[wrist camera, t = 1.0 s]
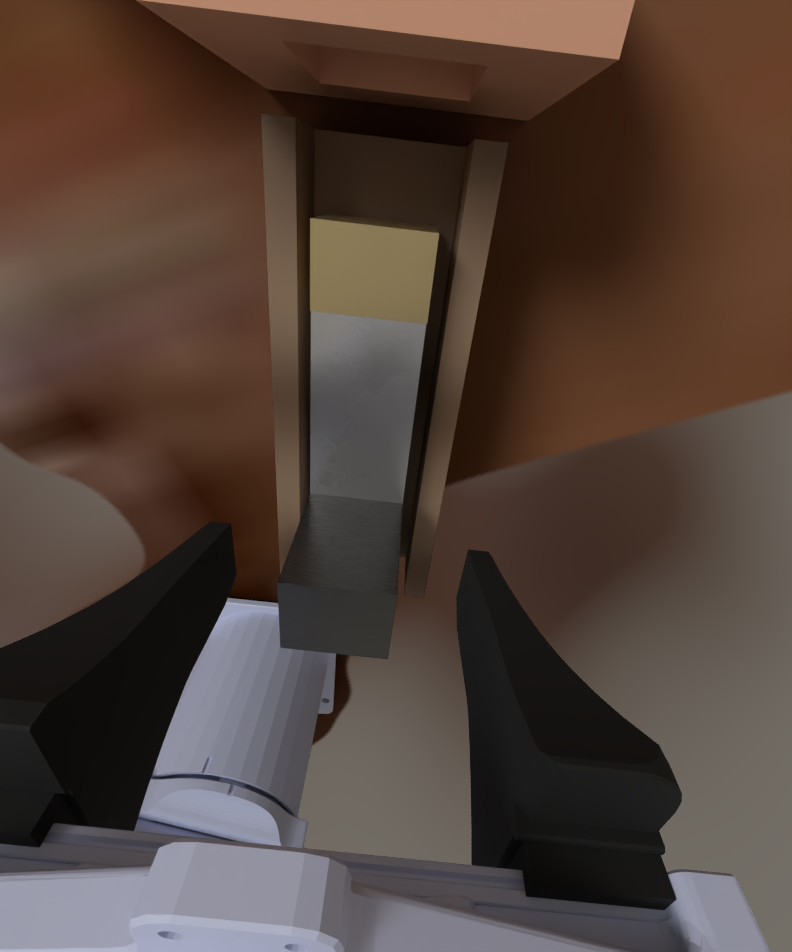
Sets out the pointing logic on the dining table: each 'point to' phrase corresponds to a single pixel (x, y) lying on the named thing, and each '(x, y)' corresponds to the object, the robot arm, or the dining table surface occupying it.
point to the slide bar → (357, 431)
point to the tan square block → (413, 48)
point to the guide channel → (451, 305)
